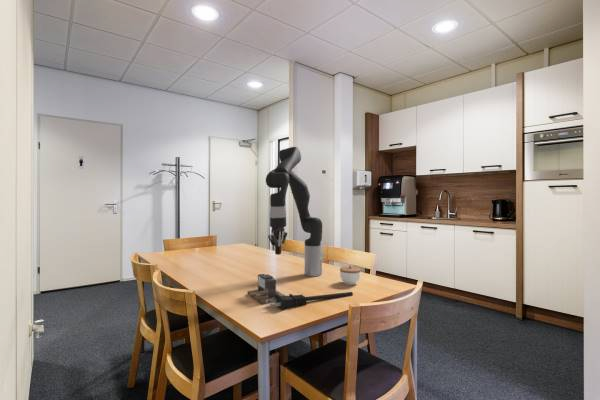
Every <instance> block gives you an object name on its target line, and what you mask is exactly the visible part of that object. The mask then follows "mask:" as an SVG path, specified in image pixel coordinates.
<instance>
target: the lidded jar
mask: <svg viewBox="0 0 600 400" xmlns="http://www.w3.org/2000/svg"><path fill="white" fill-rule="evenodd" d="M361 271H362V270H361V268H360V267H358V266H352V265H348V266H342V267H340V268H339V275H340V278H341V279H340V280H341V281H342V282H343V283H344V284H345V285H347V286H353V285H356V284H357V283H358V282H359V281H360V277H361Z"/></svg>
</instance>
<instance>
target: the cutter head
mask: <svg viewBox="0 0 600 400" xmlns="http://www.w3.org/2000/svg"><path fill="white" fill-rule="evenodd" d="M272 279H275V280H276V278H275V277H273V276H272V275H270V274H269V273H267V274H265V275H260V276H258V275H257V286H258V285H259V286H261V287H262V288H263V291H264V292H266V293H267V294H268V280H272Z"/></svg>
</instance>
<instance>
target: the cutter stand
mask: <svg viewBox="0 0 600 400" xmlns="http://www.w3.org/2000/svg"><path fill="white" fill-rule="evenodd" d="M260 275H266V274H264V273H259V274H257V277H258V276H260ZM276 283H277V279H276V278H275V279H272V280H268V294H267V293H266V292H264V291H263V288H262V287H261V286H259V285H258V284H257V288H256V289H252V290H247V296H249V297H250V298H252V299H253V300H255V301H257V303H259V304H261V305H266V300H268V303H267V304H270V300H271V299H275V294H279V295H280V296H286V295H285V294H284V293H282V292H280V291H278V290H277V284H276Z"/></svg>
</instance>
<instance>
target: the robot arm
mask: <svg viewBox="0 0 600 400" xmlns="http://www.w3.org/2000/svg"><path fill="white" fill-rule="evenodd" d="M278 157H279V160H280V162H279V163H278V165H277V166H276V167H275V168H274V169H272V170H270V171H269V172H268V173H267V175H266V177H265V184H266V186H267V187H269V188H271V189H280V190H279V191H278V192H273V193H271V194H270V197H269V228H271V233H270V234H269V235H268V236H267V237H268V240H269V241H270V243H271V245H272V246H274V251H275V252H274V253H275V255H277V256H278V255H281V254H282V246H283V245H285V242H286V239H287V236H288V232H286V231H285V228H286V226H287V207H286V202H287V201H286V199H287V198H286V197H287V196H286V195H287V190H288V187H289V188H290V190H291V194H292V197H293V199H294V203H295V205H296V209H297V213H298V216H299V220H300V225H301V229H302V230H303V231H304V233H308V234H310V236H309V238H307V239H305V240H304V275H305V276H306V277H319V276H321V275H323V258H322V257H321V242H322V240H323V239H322V238H323V222H322V220H321V219H320V217H314V216H311V215H310V211H309V203H310V197H311V194H310V191H309V189H308V185H307V183H306V182H305V181H304V180H303V179H302V178H301V177H299V176H298V175H297V174H296V173H295V172H294V170H293V169H295V168H296V166H297V165H299V163H301V161H302V154H301V151H300V149H299V147H296V146H291V147H287V148H283V149H281V150H279V152H278Z"/></svg>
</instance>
